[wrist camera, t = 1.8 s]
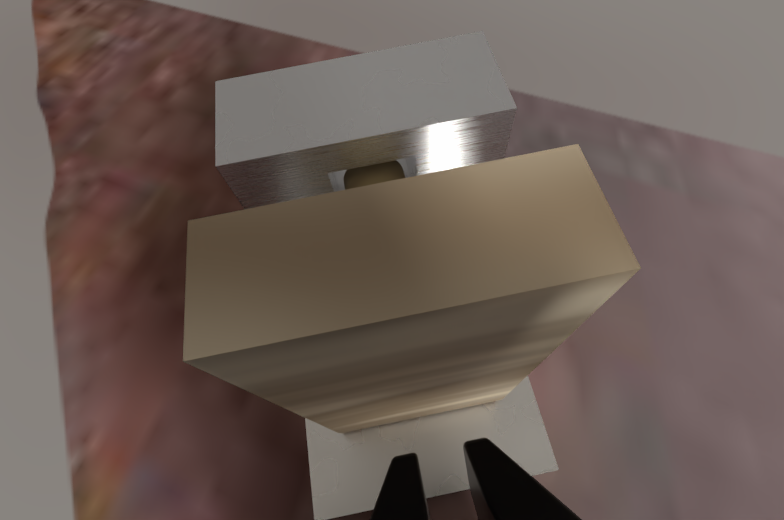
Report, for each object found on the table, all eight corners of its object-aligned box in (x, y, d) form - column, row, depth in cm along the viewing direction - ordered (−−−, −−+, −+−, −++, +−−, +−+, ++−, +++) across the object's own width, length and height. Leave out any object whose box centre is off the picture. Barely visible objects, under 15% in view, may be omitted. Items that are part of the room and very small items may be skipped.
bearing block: (555, 470, 18) (676, 467, 9) (317, 520, 17) (215, 565, 9) (462, 185, 24) (482, 30, 16) (289, 219, 24) (215, 81, 16)
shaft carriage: (502, 399, 18) (640, 267, 6) (339, 433, 18) (182, 361, 6) (452, 230, 22) (482, -44, 10) (317, 257, 22) (195, 9, 10)
